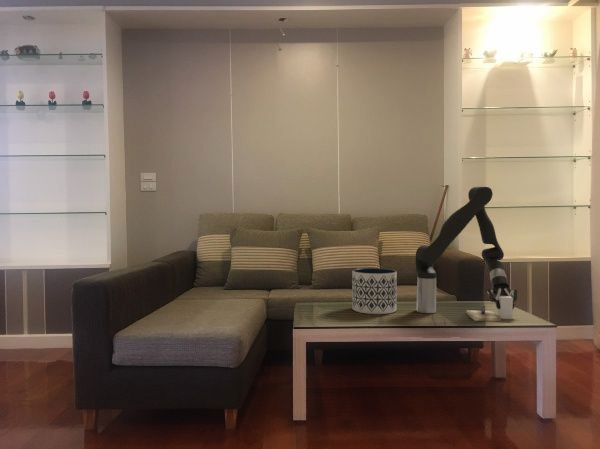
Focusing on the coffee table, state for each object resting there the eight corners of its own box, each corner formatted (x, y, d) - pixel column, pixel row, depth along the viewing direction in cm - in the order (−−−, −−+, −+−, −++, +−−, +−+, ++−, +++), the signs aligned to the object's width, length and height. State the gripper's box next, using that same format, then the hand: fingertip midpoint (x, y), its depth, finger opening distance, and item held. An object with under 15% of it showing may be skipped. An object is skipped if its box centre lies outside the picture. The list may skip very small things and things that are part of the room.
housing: (500, 318, 235) (500, 297, 235) (497, 316, 240) (497, 295, 240) (512, 318, 235) (512, 297, 234) (508, 316, 240) (509, 295, 240)
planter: (346, 312, 249) (346, 271, 249) (360, 304, 269) (360, 267, 269) (390, 316, 240) (390, 274, 239) (401, 308, 260) (401, 269, 259)
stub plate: (474, 320, 231) (474, 308, 231) (466, 313, 247) (466, 302, 247) (501, 321, 230) (501, 309, 230) (491, 313, 246) (491, 302, 246)
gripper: (485, 275, 245) (492, 303, 234) (515, 275, 244) (523, 304, 232) (482, 284, 251) (488, 312, 239) (512, 284, 249) (519, 313, 238)
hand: (506, 308), depth 236 cm, fingers closed on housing, 5 cm apart
